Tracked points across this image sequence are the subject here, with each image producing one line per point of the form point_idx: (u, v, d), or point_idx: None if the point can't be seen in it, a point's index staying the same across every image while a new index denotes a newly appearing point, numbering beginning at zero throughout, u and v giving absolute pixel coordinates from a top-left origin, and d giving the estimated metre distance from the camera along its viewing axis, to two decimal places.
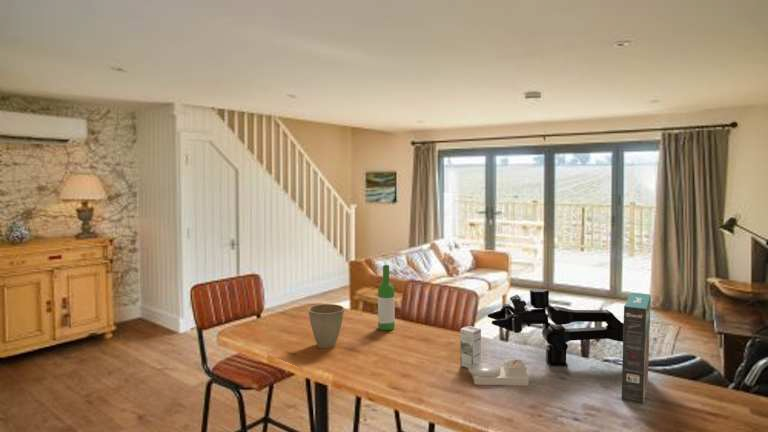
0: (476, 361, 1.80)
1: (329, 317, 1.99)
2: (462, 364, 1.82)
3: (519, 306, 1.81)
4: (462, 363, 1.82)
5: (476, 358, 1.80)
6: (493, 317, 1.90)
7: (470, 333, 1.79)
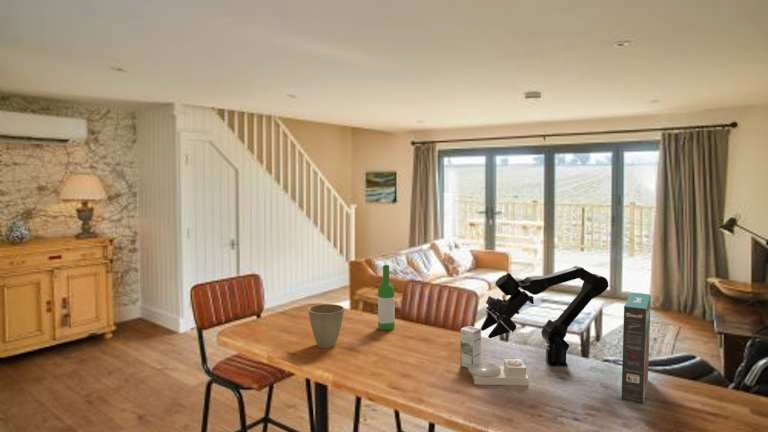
0: (476, 361, 1.80)
1: (329, 317, 1.99)
2: (462, 364, 1.82)
3: (498, 306, 1.78)
4: (462, 363, 1.82)
5: (476, 358, 1.80)
6: (486, 327, 1.87)
7: (470, 333, 1.79)
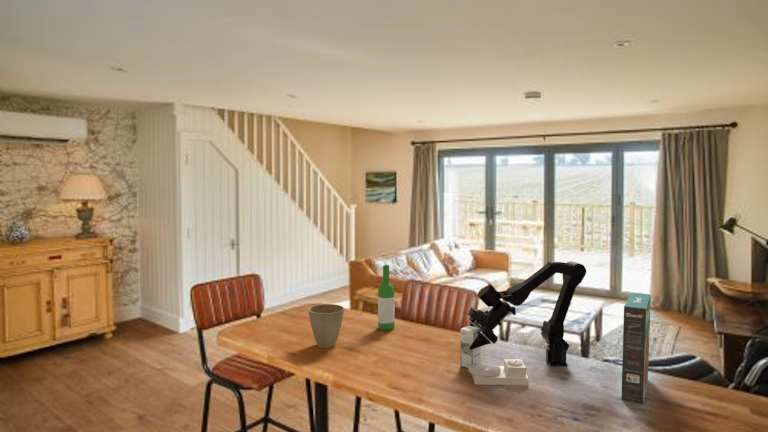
0: (476, 361, 1.80)
1: (329, 317, 1.99)
2: (462, 364, 1.82)
3: (480, 318, 1.77)
4: (462, 363, 1.82)
5: (476, 358, 1.80)
6: None
7: (470, 333, 1.79)
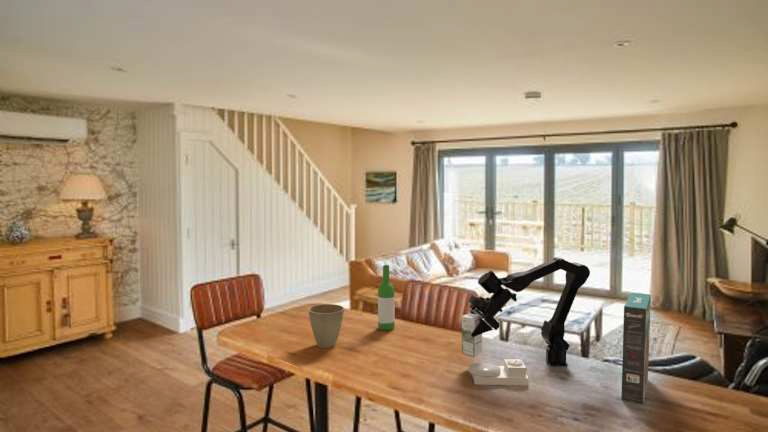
0: (478, 348, 1.79)
1: (329, 317, 1.99)
2: (463, 352, 1.80)
3: (481, 305, 1.76)
4: (463, 351, 1.80)
5: (478, 345, 1.79)
6: None
7: (471, 320, 1.77)
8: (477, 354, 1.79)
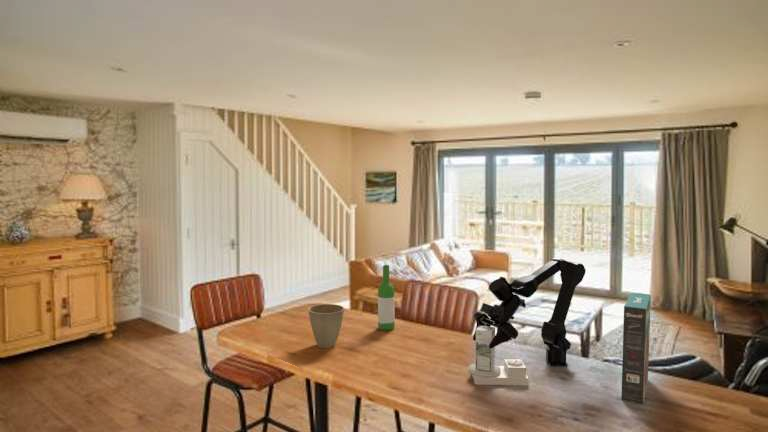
0: (492, 362, 1.70)
1: (329, 317, 1.99)
2: (478, 367, 1.70)
3: (497, 313, 1.67)
4: (478, 366, 1.70)
5: (493, 358, 1.70)
6: None
7: (488, 333, 1.67)
8: (492, 368, 1.69)
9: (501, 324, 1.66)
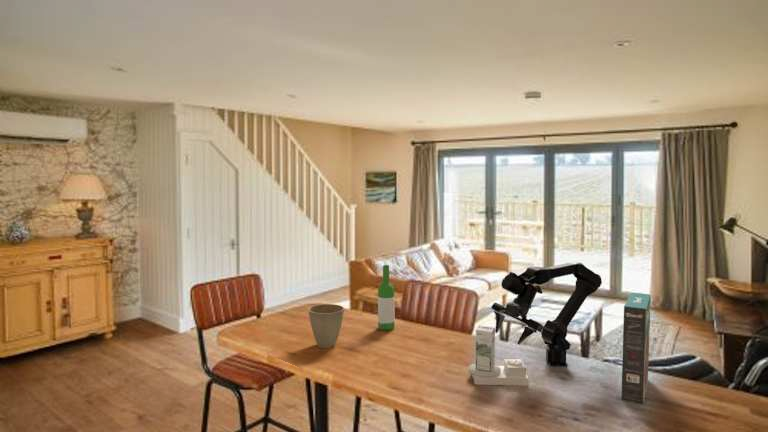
0: (492, 362, 1.70)
1: (329, 317, 1.99)
2: (478, 367, 1.70)
3: (524, 314, 1.72)
4: (478, 366, 1.70)
5: (493, 358, 1.70)
6: (499, 328, 1.82)
7: (488, 333, 1.67)
8: (492, 368, 1.69)
9: (529, 323, 1.73)
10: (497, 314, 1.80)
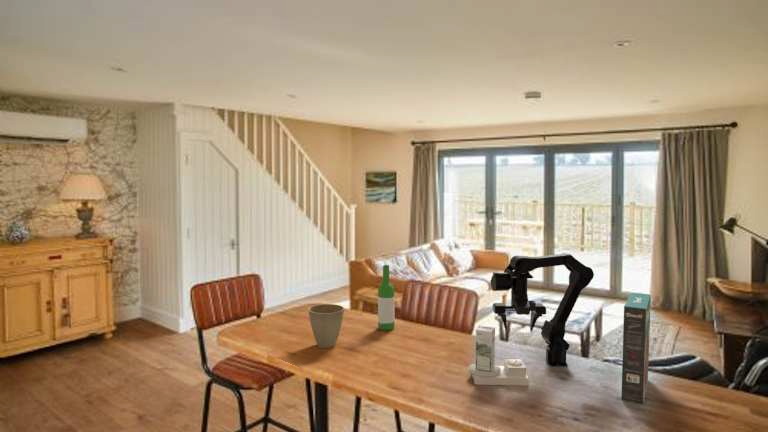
0: (492, 362, 1.70)
1: (329, 317, 1.99)
2: (478, 367, 1.70)
3: None
4: (478, 366, 1.70)
5: (493, 358, 1.70)
6: None
7: (488, 333, 1.67)
8: (492, 368, 1.69)
9: (538, 311, 1.79)
10: (503, 316, 1.80)
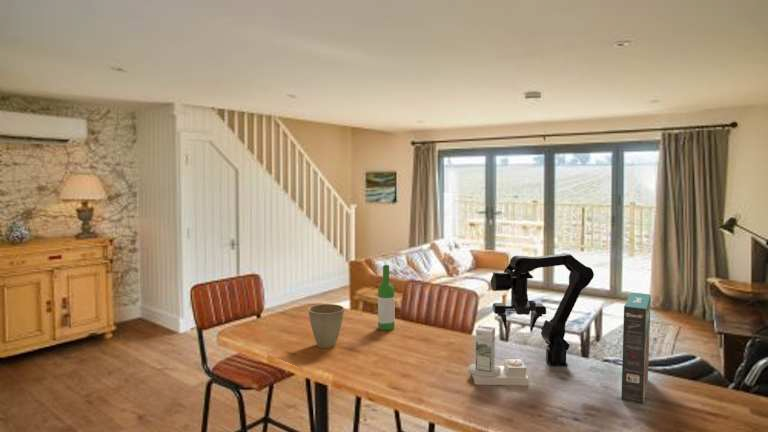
0: (492, 362, 1.70)
1: (329, 317, 1.99)
2: (478, 367, 1.70)
3: None
4: (478, 366, 1.70)
5: (493, 358, 1.70)
6: None
7: (488, 333, 1.67)
8: (492, 368, 1.69)
9: (538, 311, 1.79)
10: (503, 316, 1.80)
